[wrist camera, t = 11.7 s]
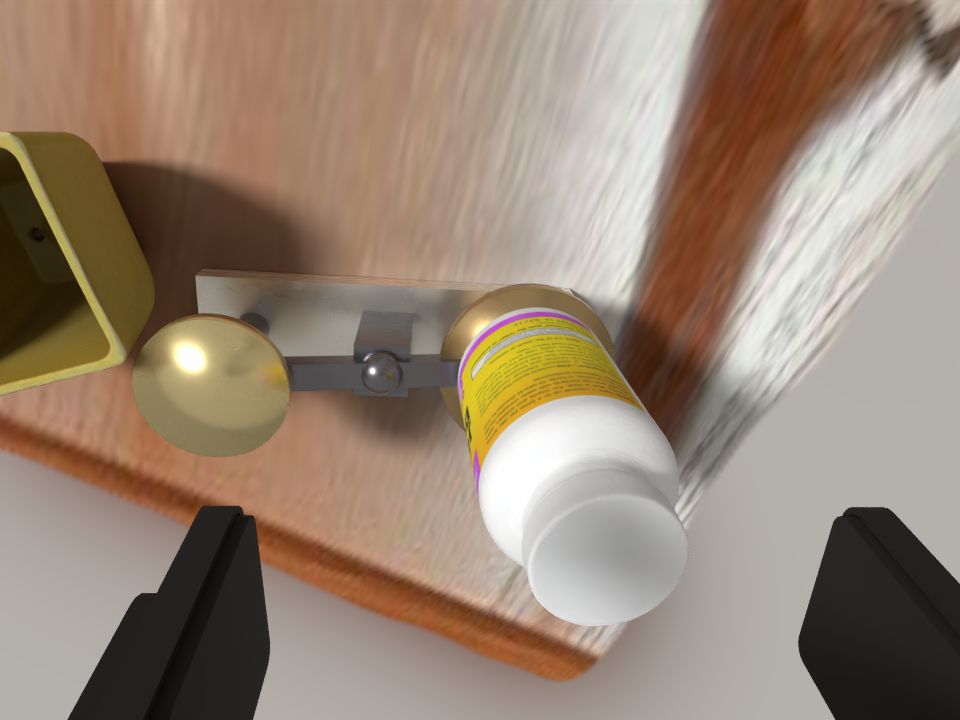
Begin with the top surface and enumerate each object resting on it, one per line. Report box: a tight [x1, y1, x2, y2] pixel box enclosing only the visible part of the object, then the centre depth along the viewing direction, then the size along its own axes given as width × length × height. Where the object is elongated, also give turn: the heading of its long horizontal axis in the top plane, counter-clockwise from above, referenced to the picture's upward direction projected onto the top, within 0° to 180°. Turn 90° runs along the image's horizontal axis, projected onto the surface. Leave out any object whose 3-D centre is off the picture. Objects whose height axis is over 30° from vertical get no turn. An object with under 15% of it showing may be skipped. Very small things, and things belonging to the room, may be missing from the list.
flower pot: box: [0, 132, 155, 396], centre depth 29 cm, size 9×9×9 cm
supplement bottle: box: [458, 307, 689, 626], centre depth 26 cm, size 7×7×13 cm
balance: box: [132, 269, 616, 457], centre depth 32 cm, size 20×8×8 cm, turn 86°
